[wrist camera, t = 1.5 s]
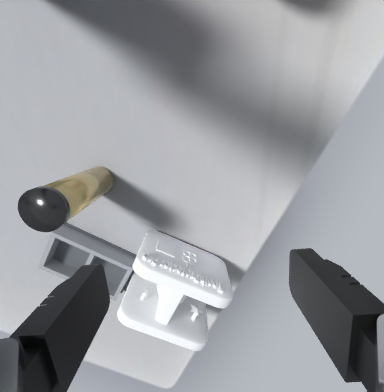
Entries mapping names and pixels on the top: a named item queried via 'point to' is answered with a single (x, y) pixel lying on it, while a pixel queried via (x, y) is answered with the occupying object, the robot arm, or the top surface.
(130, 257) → the divided storage box
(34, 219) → the canister
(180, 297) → the white napkin holder
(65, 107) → the top surface
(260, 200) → the top surface
